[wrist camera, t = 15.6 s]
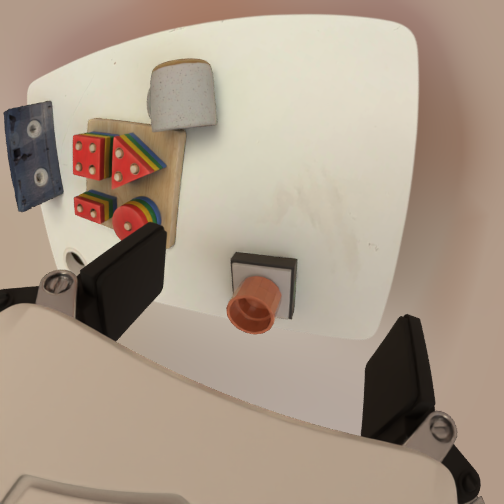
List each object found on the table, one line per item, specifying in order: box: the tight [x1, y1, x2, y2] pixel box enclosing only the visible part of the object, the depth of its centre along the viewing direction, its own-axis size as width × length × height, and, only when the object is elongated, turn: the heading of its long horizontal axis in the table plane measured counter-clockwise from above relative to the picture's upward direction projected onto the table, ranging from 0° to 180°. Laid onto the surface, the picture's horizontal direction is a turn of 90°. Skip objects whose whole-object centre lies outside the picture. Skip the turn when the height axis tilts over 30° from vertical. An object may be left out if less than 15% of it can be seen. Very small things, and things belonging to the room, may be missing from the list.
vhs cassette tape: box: [4, 101, 63, 212], centre depth 39 cm, size 18×3×10 cm, turn 1°
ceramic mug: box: [147, 59, 217, 132], centre depth 30 cm, size 11×8×8 cm
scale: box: [231, 252, 297, 319], centre depth 41 cm, size 9×9×3 cm
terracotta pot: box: [226, 276, 282, 334], centre depth 38 cm, size 6×6×5 cm
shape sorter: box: [73, 118, 186, 249], centre depth 39 cm, size 18×17×6 cm
